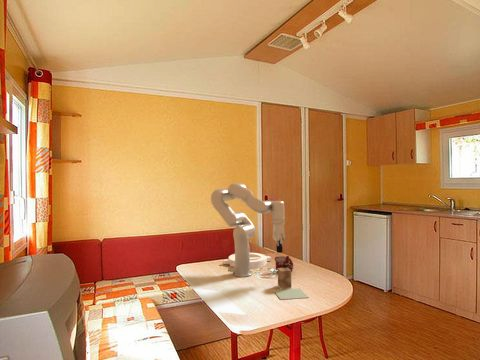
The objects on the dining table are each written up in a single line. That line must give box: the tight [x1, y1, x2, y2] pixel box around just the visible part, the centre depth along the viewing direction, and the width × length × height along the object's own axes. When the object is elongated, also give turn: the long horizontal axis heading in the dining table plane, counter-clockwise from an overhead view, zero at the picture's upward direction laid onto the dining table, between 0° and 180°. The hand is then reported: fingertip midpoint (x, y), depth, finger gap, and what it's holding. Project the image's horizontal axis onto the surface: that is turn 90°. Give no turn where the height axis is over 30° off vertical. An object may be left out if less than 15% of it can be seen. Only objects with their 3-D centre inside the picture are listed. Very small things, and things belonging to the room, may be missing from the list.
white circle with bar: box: [222, 252, 272, 269], centre depth 218 cm, size 28×28×5 cm
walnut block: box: [277, 268, 292, 290], centre depth 166 cm, size 6×6×10 cm
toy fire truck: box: [274, 255, 294, 273], centre depth 195 cm, size 7×12×10 cm, turn 101°
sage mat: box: [273, 287, 309, 301], centre depth 156 cm, size 15×13×1 cm
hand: (279, 252), depth 177 cm, fingers closed
